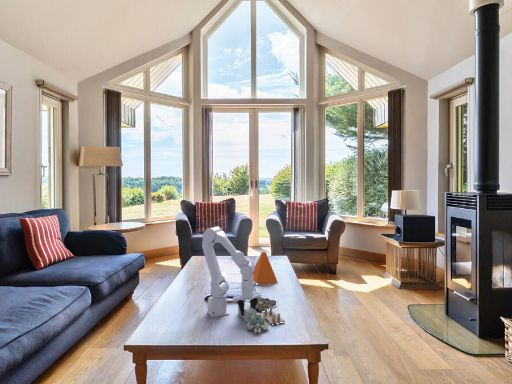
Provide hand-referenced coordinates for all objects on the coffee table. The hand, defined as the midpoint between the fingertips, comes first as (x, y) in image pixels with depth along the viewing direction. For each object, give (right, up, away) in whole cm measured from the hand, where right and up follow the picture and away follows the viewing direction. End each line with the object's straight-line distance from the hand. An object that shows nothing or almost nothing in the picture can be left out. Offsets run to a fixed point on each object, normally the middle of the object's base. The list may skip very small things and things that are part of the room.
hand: (247, 314), depth 164 cm
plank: (0, -2, 0) cm, 2 cm away
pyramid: (+10, 0, +60) cm, 61 cm away
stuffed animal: (+5, -2, -13) cm, 14 cm away
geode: (+9, -2, +15) cm, 18 cm away
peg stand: (+12, -2, -2) cm, 13 cm away
